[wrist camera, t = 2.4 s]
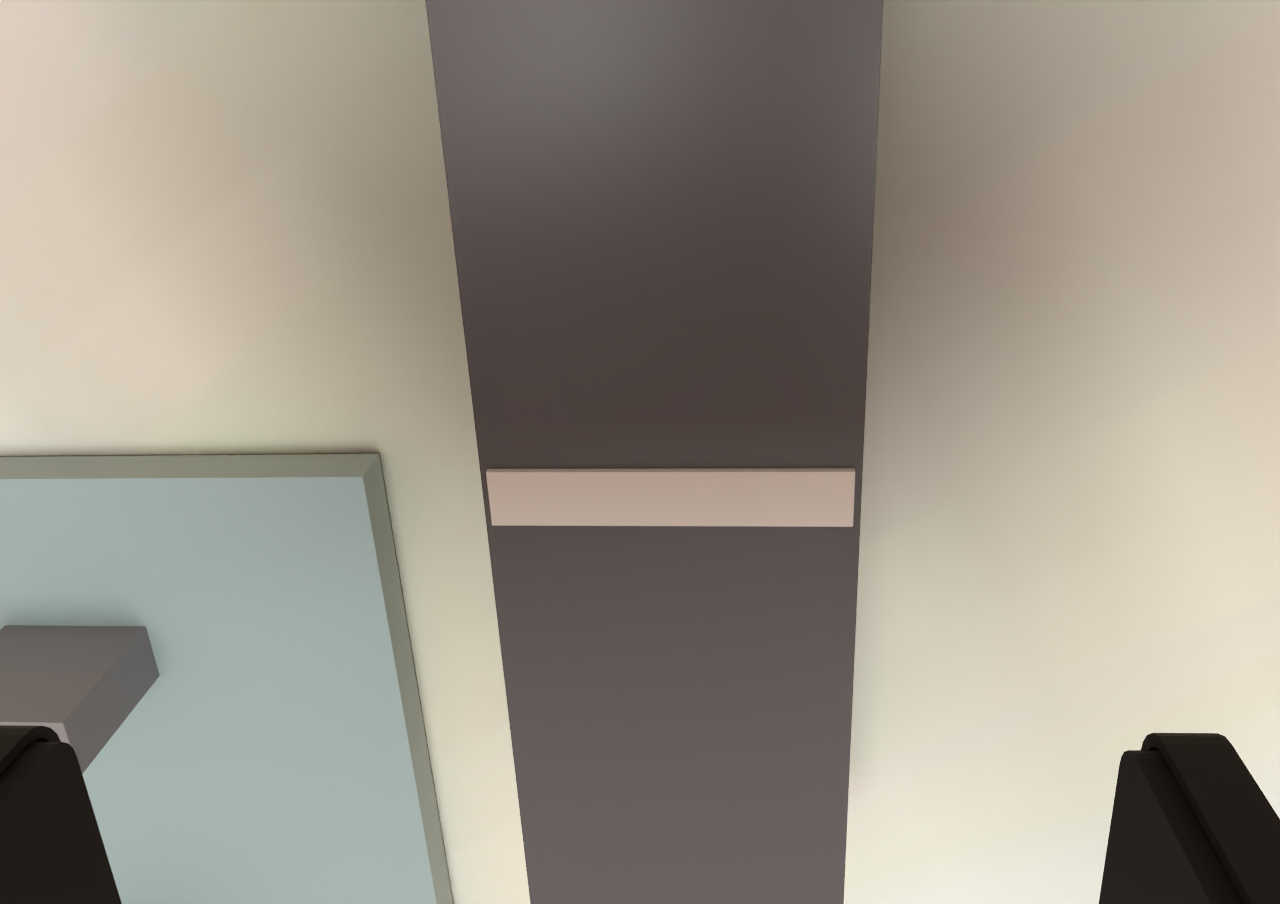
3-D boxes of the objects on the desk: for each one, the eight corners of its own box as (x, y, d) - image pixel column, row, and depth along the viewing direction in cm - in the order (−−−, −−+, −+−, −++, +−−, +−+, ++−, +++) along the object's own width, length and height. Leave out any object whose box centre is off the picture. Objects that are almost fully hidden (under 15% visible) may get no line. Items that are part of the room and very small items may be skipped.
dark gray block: (500, -310, 16) (372, -429, 11) (850, -334, 16) (904, -472, 10) (588, 774, 25) (542, 1018, 19) (818, 780, 24) (838, 1031, 19)
